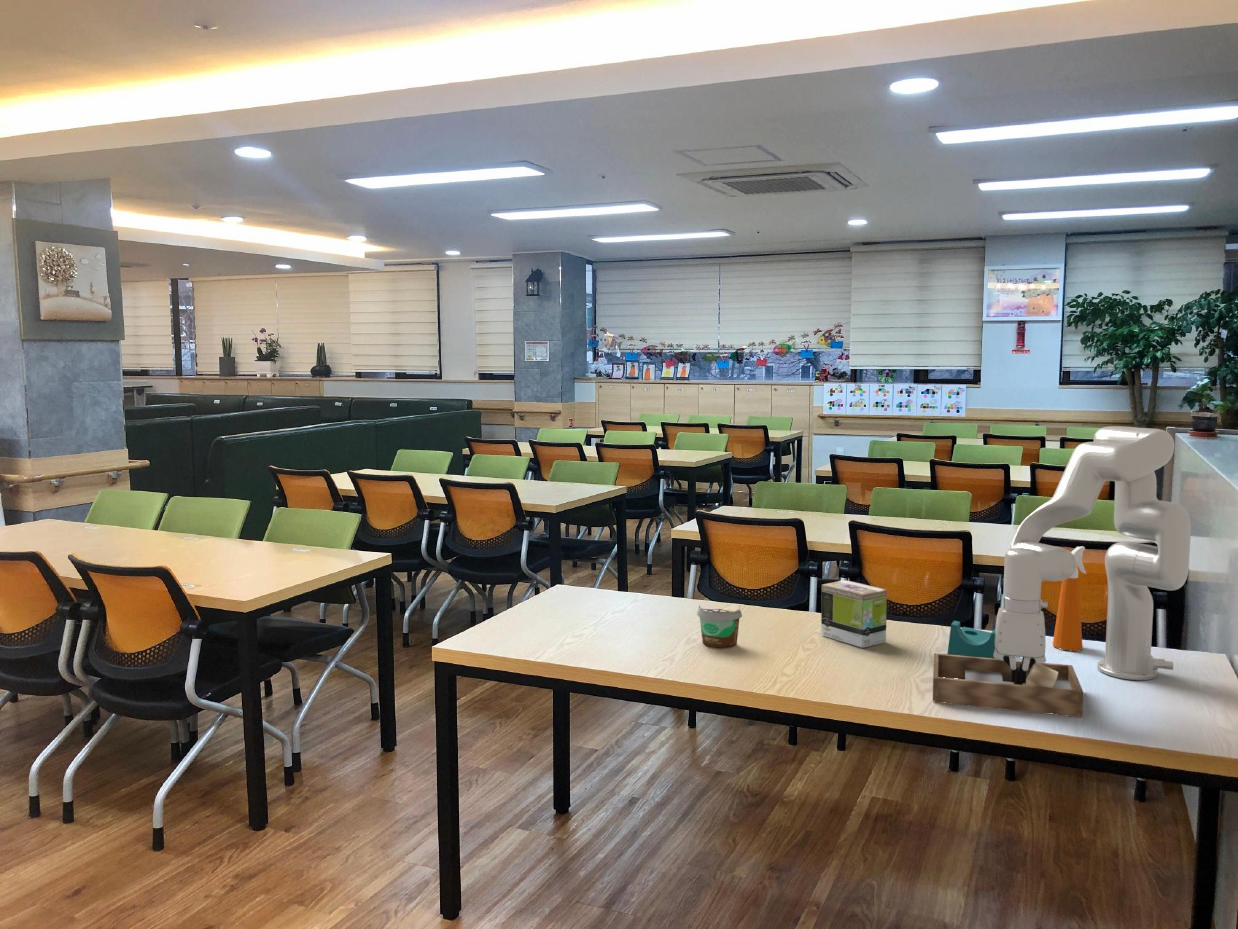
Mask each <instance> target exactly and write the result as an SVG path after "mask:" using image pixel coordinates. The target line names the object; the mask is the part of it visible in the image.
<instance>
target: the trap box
mask: <svg viewBox="0 0 1238 929" xmlns="http://www.w3.org/2000/svg"><path fill="white" fill-rule="evenodd" d="M1015 660H1016V664H1017V666H1018V670H1019V667H1020V665H1021V663H1022V660H1017V659H1015ZM1040 664H1042V665H1044V666H1046V667H1048V668H1050V669H1053V670H1055V671H1057V672H1058V676H1057V679H1056V682H1055V684H1054V686H1053V688H1048V687H1038V686H1027V685H1025V684H1024V683H1023V685H1017V684H1014V682H1011V667H1010V666H1009V665H1008V664H1007V663H1006V662H1005V661H1003V660H1000V659H994V658H983V657H971V656H960V655H948V654H947V653H946V654H945V653H936V652H934V653H933V670H932V671H933V673H932V674H933V677H932V702H933V701H935V702H934V703H938V702H946V703H945V704H948V703H952V704H951V705H957V704H960V706H967V705H970V706H969V707H977V708H978V707H979V708H987V709H999V710H1005V711H1007V710H1008V711H1016V712H1025V713H1037V714H1044V713H1053V714H1058V715H1057V716H1063V715H1068V716H1067V717H1072V716H1075V717H1076V718H1083V711H1084V690H1083V687H1082V685H1081V682H1080V680H1079V678H1078V676H1077V673H1076V671H1075V668H1074V667H1073V665H1072V664H1061V663H1050V662H1044V663H1040ZM1032 667H1033V665H1032V666H1031V667H1030V668H1028V670H1027V671H1026V680H1027V678H1028V676H1029V674H1030V671H1031V669H1032ZM943 677H945V678H943ZM954 678H958V679H954ZM1053 714H1052V715H1053ZM1075 717H1074V718H1075Z"/></svg>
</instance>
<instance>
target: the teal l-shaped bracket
mask: <svg viewBox="0 0 1238 929" xmlns="http://www.w3.org/2000/svg"><path fill="white" fill-rule="evenodd" d="M949 630H950V632H949V639H948V646H947V653H946V654H948V655H960V656H971V657H983V658H994V657H993V652H994V649H995V628H994V629H993V630H992V631H991V632H990V631H985V630H982V629H981V630H980V629H976V628H972V627H966V626H963V627H962V626H961V621H957V620H953V621H952V623H951V624H950V628H949ZM994 659H997V658H994Z"/></svg>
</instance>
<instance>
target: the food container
mask: <svg viewBox="0 0 1238 929" xmlns="http://www.w3.org/2000/svg"><path fill="white" fill-rule="evenodd" d="M696 615H697V617H699V623H700V631H701V642H703V643H702V645H703V644H704V645H705V647H707V648H710V649H717V650H719V649H720V650H721V649H725V650H726V649H731V648H734V647H736V646H737V644H738V636H739V628H740V626H739V625H740V618H742V617H743V614H742V611H741V608H740V609H737V610H735V611H733V610H732V611H731V610H726V609H723V608H722V609H721V608H713V609H710V608H702V607H701V605H699V606H698V609H697V612H696ZM704 645H703V646H704Z"/></svg>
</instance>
